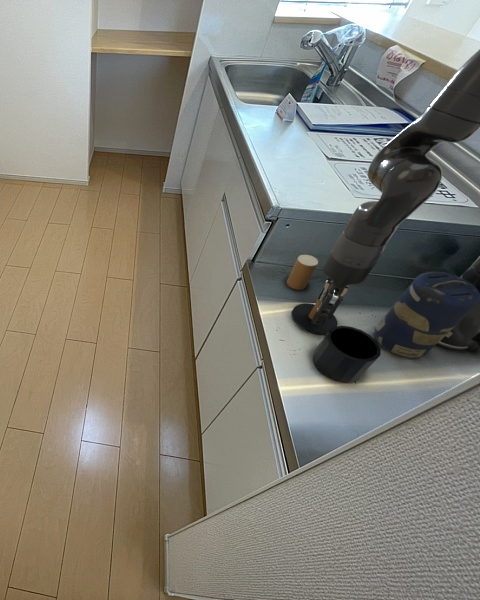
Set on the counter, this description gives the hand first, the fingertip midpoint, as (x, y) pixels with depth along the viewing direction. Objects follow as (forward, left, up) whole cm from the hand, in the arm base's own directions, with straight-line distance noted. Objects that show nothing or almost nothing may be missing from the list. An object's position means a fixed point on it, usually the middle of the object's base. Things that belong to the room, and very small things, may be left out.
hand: (319, 311), depth 79 cm
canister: (-16, -2, -3) cm, 16 cm away
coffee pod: (+6, -11, -3) cm, 13 cm away
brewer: (-6, +11, -3) cm, 13 cm away
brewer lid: (0, 0, -3) cm, 3 cm away
